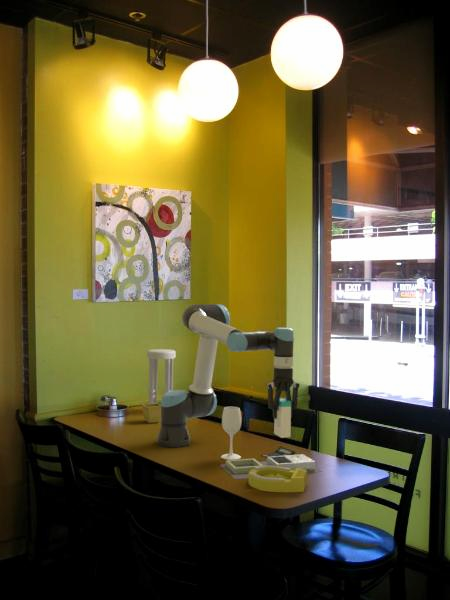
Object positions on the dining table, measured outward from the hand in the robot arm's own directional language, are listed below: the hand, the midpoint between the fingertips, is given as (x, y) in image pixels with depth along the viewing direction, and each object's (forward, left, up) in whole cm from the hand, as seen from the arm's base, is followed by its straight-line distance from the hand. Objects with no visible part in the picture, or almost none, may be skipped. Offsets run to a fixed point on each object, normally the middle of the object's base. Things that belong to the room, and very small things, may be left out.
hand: (282, 426), depth 246 cm
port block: (+4, 0, -17) cm, 17 cm away
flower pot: (-33, +95, -18) cm, 102 cm away
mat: (-4, +2, -17) cm, 18 cm away
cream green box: (0, 0, -4) cm, 4 cm away
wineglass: (-14, +21, -18) cm, 31 cm away
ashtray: (-9, -17, -17) cm, 26 cm away
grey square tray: (-14, +4, -17) cm, 22 cm away
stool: (-24, +118, -18) cm, 122 cm away
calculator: (+6, +17, -18) cm, 26 cm away
